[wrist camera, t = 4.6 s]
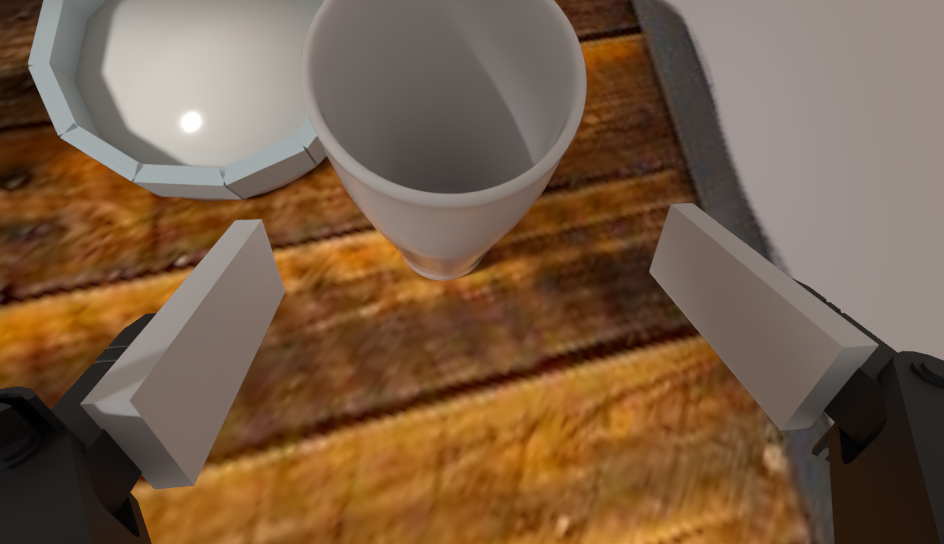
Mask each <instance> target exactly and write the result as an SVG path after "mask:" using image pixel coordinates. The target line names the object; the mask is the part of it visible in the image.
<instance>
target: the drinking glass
mask: <svg viewBox="0 0 944 544" xmlns="http://www.w3.org/2000/svg"><path fill="white" fill-rule="evenodd" d="M300 86H301V93H302V98H303V102H304V106H305V109H306V112H307V115H308V118H309V120H310V122H311V124H312V127H313V129H314V131H315V132H316V134H317V136H318V138H319V140H320V142H321V145H322V147H323V149H324V151H325V153H326V155H327V157H328V159H329V161H330V163H331V165H332V167H333V169H334V171H335V172H336V174H337V176H338V177H339V179H340V181H341V183H342V184H343V186H344V188H345V189H346V191H347V192H348V194H349V195H350V197H351V198H352V200H353V201H354V203H355V204H356V205H357V207H358V208H359V209H360V211H361V212H362V213H363V215H364V216H365V217H366V218H367V219H368V220H369V221H370V223H371V224H372V225H373V226H374V227H375V228H376V229H377V230H378V231H379V232H380V233H381V234H382V235H383V236H384V237H385V238H386V239H387V240H388V241H389V242H390V243H391V244H392V245H393V246H394V248H395V249H396V250H397V251H398V252H399V253H400V254H401V256H402V258H403V259H404V261H405V262H406V263H407V264H408V266H409V267H410V268H412V269H413V270H414V271H415V272H417V273H418V274H420V275H422V276H424V277H427V278H429V279H433V280H452V279H456V278H459V277H462V276H464V275H466V274H467V273H469V272H470V271H472V270H473V269H474V268H475V267H476V266H477V265H478V264H479V263H480V261H481V260H482V258H483V257H484V256H485V255H486V254H487V253H488V252H489V251H490V250H491V249H492V248H493V247H494V246H495V245H496V244H497V243H498V242H499V241H500V240H502V239H503V238H504V237H505V236H506V235H507V234H508V233H509V232H510V231H511V230H512V229H513V228H514V227H515V226H516V225H517V224H518V223H519V222H520V221H521V220H522V218H523V217H524V216H525V215H526V214H527V213H528V211H529V210H530V209H531V207H532V206H533V205H534V203H535V202H536V201H537V199H538V198H539V197H540V195H541V194H542V192H543V191H544V189H545V188H546V186H547V184H548V183H549V181H550V179H551V178H552V176H553V174H554V173H555V171H556V169H557V167H558V166H559V164H560V162H561V160H562V158H563V156H564V154H565V152H566V151H567V149H568V147H569V145H570V143H571V142H572V140H573V138H574V136H575V134H576V132H577V129H578V127H579V124H580V121H581V118H582V115H583V111H584V106H585V100H586V90H587V80H586V68H585V62H584V57H583V53H582V49H581V46H580V43H579V40H578V38H577V36H576V34H575V31H574V29H573V27H572V25H571V24H570V22H569V20H568V18H567V17H566V15H565V14H564V12H563V11H562V10H561V8H560V7H559V6H558V4H557V3H556V2H555V1H554V0H324V1H323V3H322V4H321V5H320V7H319V9H318V10H317V12H316V13H315V15H314V17H313V19H312V21H311V23H310V25H309V27H308V30H307V33H306V35H305V39H304V43H303V46H302V51H301V58H300Z"/></svg>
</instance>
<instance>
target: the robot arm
mask: <svg viewBox="0 0 944 544" xmlns="http://www.w3.org/2000/svg"><path fill="white" fill-rule="evenodd" d="M649 272H650V274H651V275H652V276H653V277H654V278H655V280H656V281H657V282H658V283H659V284H660V286H661V287H662V288H663V289H664V291H665V292H666V293H667V294H668V295H669V297H670V298H671V299H672V300H673V301H674V303H675V304H676V305H677V306H678V307H679V309H680V310H681V311H682V312H683V313H684V315H685V316H686V317H687V318H688V320H689V321H690V322H691V323H692V324H693V326H694V327H695V328H696V329H697V330H698V332H699V333H700V334H701V335H702V336H703V338H704V339H705V340H706V341H707V343H708V344H709V345H710V346H711V347H712V349H713V350H714V351H715V352H716V353H717V355H718V356H719V357H720V358H721V359H722V361H723V362H724V363H725V364H726V366H727V367H728V368H729V369H730V370H731V372H732V373H733V374H734V375H735V376H736V378H737V379H738V380H739V381H740V382H741V384H742V385H743V386H744V387H745V389H746V390H747V391H748V392H749V393H750V395H751V396H752V397H753V398H754V399H755V401H756V402H757V403H758V404H759V405H760V407H761V408H762V409H763V410H764V412H765V413H766V414H767V415H768V416H769V418H770V419H771V420H772V421H773V422H774V424H775V425H776V426H777V427H778V428H779V430H780V431H784V430H795V429H806V428H811V427H812V425H813V424H814V423H815V422H816V421H817V419H818V418H819V417H820V416H821V414H822V413H823V412H825V413H826V414H827V415H828V416H829V417H830V418H831V419H832V420H833V421H834V422H835V423H834V424H833V425H832V427H831V428H830V429H829V430H828V431H827V432H826V433H825V435H824V436H823V437H822V438H821V439H820V440H819V441H818V443H817V444H816V445H815V446H814V447H813V450H812V453H811V454H814V455H816V456H818V455H819V453H820V452H821V451H822V450H823V449H824V448H829V455H828V457H827V458H826V459H825V460H827V461H829V462H830V476H831V492H832V508H833V523H834V539H835V544H944V361H943V360H941V359H938V358H935V357H933V356H930V355H927V354H922V353H918V352H914V351H913V352H912V351H911V352H909V351H902V352H899V353H897V352H896V351H895V350H893V349H892V348H891V347H889V346H888V345H887V344H885V343H884V342H882V341H881V340H880V339H878V338H877V337H876V336H875V335H873V334H872V333H871V332H869V331H868V330H867V329H865V328H864V327H862V326H861V325H860V324H859V323H857V322H856V321H855V320H853V319H852V318H851V317H849V316H848V315H846V314H845V313H841V310H840V309H838V308H837V307H836V306H834V305H833V304H832V303H830V302H827V301H826V299H825V298H824V297H822V296H821V295H820V294H818V293H817V292H816V291H814V290H813V289H812V288H810V287H808V286H807V285H805V284H803V283H801V282H799V281H797V280H794V279H792V278H790V277H789V276H788V275H786V274H785V273H784V272H782V271H781V270H780V269H778V268H777V267H776V266H774V265H773V264H772V263H771V262H769V261H768V260H767V259H765V258H764V257H763V256H761V255H760V254H759V253H757V252H756V251H755V250H753V249H752V248H751V247H749V246H748V245H747V244H746V243H744V242H743V241H742V240H740V239H739V238H738V237H736V236H735V235H734V234H732V233H731V232H730V231H728V230H727V229H726V228H724V227H723V226H722V225H721V224H719V223H718V222H717V221H715V220H714V219H713V218H711V217H710V216H709V215H707V214H706V213H705V212H703V211H702V210H701V209H699V208H698V207H697V206H696V205H694V204H693V203H684V204H671V205H670V208H669V211H668V214H667V217H666V221H665V224H664V227H663V230H662V233H661V236H660V239H659V242H658V246H657V249H656V252H655V255H654V258H653V261H652V264H651V268H650V271H649ZM284 293H285V289H284V286H283V283H282V280H281V277H280V274H279V271H278V268H277V265H276V262H275V259H274V255H273V252H272V249H271V246H270V243H269V240H268V237H267V234H266V231H265V228H264V225H263V222H262V220H236V221H235V222H234V223H233V224H232V225H231V226H230V227H229V229H228V230H227V231H226V232H225V233H224V235H223V236H222V237H221V238H220V239H219V241H218V242H217V243H216V244H215V245H214V246H213V248H212V249H211V250H210V251H209V252H208V254H207V255H206V256H205V257H204V258H203V259H202V261H201V262H200V263H199V264H198V265H197V267H196V268H195V269H194V270H193V271H192V272H191V274H190V275H189V276H188V277H187V278H186V280H185V281H184V282H183V283H182V284H181V285H180V287H179V288H178V289H177V290H176V291H175V293H174V294H173V295H172V296H171V297H170V298H169V300H168V301H167V302H166V303H165V304H164V306H163V307H162V308H161V309H160V310H159V311H158V313H152V314H145V315H144V316H142V317H141V318H139V319H138V320H136V321H135V322H133V323H132V324H131V325H129V326H128V327H126V328H125V329H123V331H122V332H121V333H120V334H119V335H118V336H117V337H116V338H115V339H114V341H113V342H112V343H111V344H110V345H109V349H105V350H104V352H103V353H102V354H101V355H100V356H99V357H98V358H97V359H96V363H95V364H92V365H91V366H90V367H89V368H88V369H87V370H86V371H85V373H84V374H83V375H82V376H81V377H80V378H79V379H78V380H77V381H76V383H75V384H74V385H73V386H72V387H71V388H70V389H69V390H68V391H67V392H66V394H65V395H64V396H63V397H62V398H61V399H60V400H59V401H58V402H57V404H56V405H55V406H54V407H53V408H52V409H50V408H49V407H48V406H47V405H46V404H45V403H44V402H43V401H42V400H41V399H40V398H39V397H38V396H37V395H36V394H35V393H34V391H33V390H32V389H29V388H24V387H11V388H4V389H0V544H151V541H150V537H149V534H148V531H147V528H146V525H145V522H144V519H143V516H142V513H141V510H140V507H139V504H138V501H137V500H136V499H135V497H134V496H133V495H132V494H131V493H130V492H131V490H132V489H133V487H134V485H135V484H136V482H137V480H138V479H139V477H140V475H141V474H142V475H143V477H144V478H145V479H146V480H147V481H148V482H149V483H150V485H151V486H152V487H153V488H154V489H162V488H172V487H183V486H194V484H195V482H196V480H197V478H198V476H199V474H200V471H201V469H202V467H203V465H204V463H205V461H206V459H207V457H208V454H209V452H210V450H211V448H212V446H213V444H214V442H215V440H216V437H217V435H218V433H219V431H220V429H221V427H222V425H223V423H224V420H225V418H226V416H227V414H228V412H229V410H230V408H231V406H232V403H233V401H234V399H235V397H236V395H237V393H238V391H239V389H240V386H241V384H242V382H243V380H244V378H245V376H246V374H247V372H248V369H249V367H250V365H251V363H252V361H253V359H254V357H255V355H256V352H257V350H258V348H259V346H260V344H261V342H262V340H263V338H264V335H265V333H266V331H267V329H268V327H269V325H270V323H271V321H272V318H273V316H274V314H275V312H276V310H277V308H278V306H279V304H280V302H281V299H282V297H283V295H284Z"/></svg>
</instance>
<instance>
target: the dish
mask: <svg viewBox="0 0 944 544" xmlns="http://www.w3.org/2000/svg"><path fill="white" fill-rule="evenodd" d="M323 1H324V0H43V4H42V8H41V12H40V17H39V21H38V25H37V29H36V33H35V37H34V41H33V45H32V50H31V54H30V58H29V62H28V65H29V66H30V67H28V68H29V70H30V73H31V75H32V77H33V79H34V82H35V84H36V86H37V89H38V91H39V93H40V95H41V98H42V100H43V102H44V105H45V107H46V109H47V111H48V114H49V116H50V118H51V120H52V123H53V125H54V127H55V130H56V132H57V134H58V136H60V138H61V139H63V140H65V141H66V142H68V143H70V144H71V145H73V146H75V147H76V148H78V149H79V150H81V151H83V152H84V153H86V154H88V155H89V156H91V157H92V158H94V159H96V160H97V161H99V162H101V163H102V164H104V165H106V166H107V167H109V168H110V169H112V170H114V171H115V172H117V173H119V174H120V175H122V176H123V177H125V178H127V179H128V180H130V181H132V182H134V183H136V184H137V185H139V186H141V187H143V188H145V189H147V190H149V191H151V192H153V193H155V194H156V195H159V196H168V197H180V198H185V199H192V200H202V201H228V200H235V199H241V200H242V198H244V199H246V198H248V197H252V196H256V195H260V194H264V193H267V192H270V191H272V190H275V189H277V188H280V187H283V186H285V185H287V184H289V183H291V182H292V181H294V180H296V179H298V178H300V177H302V176H303V175H305V174H306V173H307V172H309V171H310V170H312V169H313V168H315V167H316V166H317V165H318V164H319V163H321V162H322V161H323V160H324V159H325V158H326V157H327V155H326V153H325V151H324V149H323V147H322V145H321V142H320V140H319V138H318V136H317V134H316V132H315V131H314V129H313V127H312V124H311V122H310V120H309V118H308V115H307V112H306V109H305V106H304V102H303V98H302V93H301V86H300V58H301V51H302V46H303V43H304V39H305V35H306V33H307V30H308V27H309V25H310V23H311V21H312V19H313V17H314V15H315V13H316V12H317V10H318V9H319V7H320V5H321V4H322V3H323Z"/></svg>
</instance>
